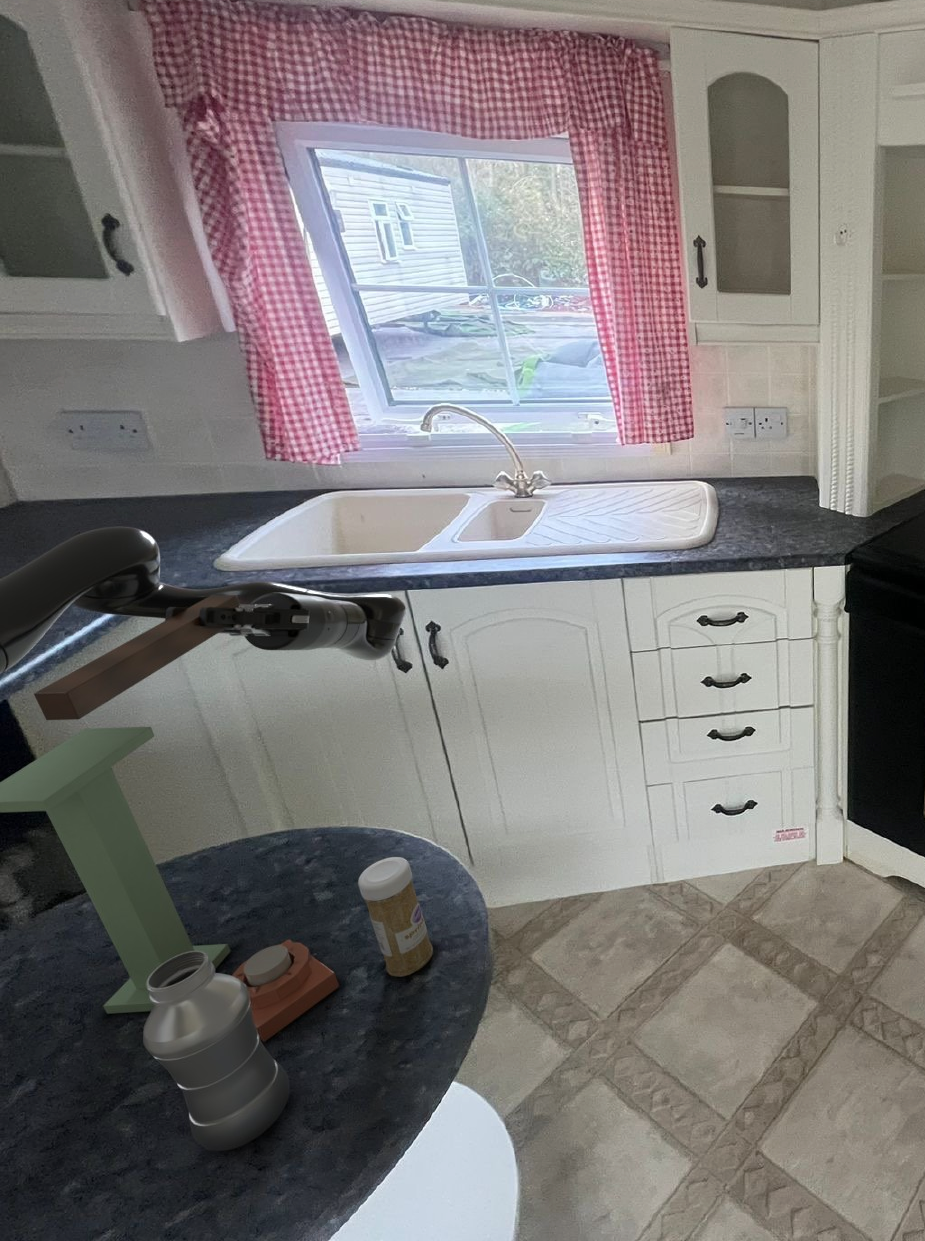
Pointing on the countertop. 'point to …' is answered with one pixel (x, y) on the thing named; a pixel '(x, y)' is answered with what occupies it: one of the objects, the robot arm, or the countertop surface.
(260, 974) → the push button
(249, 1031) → the grey bottle
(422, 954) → the sprinkles bottle
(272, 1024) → the orange button pad
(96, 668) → the brown wooden bar
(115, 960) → the countertop surface
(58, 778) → the shelf stand
